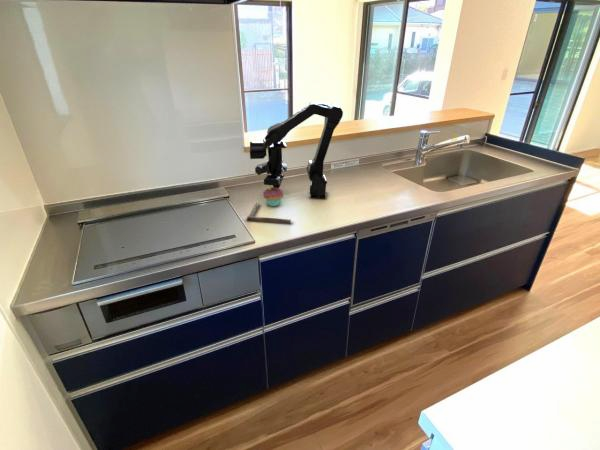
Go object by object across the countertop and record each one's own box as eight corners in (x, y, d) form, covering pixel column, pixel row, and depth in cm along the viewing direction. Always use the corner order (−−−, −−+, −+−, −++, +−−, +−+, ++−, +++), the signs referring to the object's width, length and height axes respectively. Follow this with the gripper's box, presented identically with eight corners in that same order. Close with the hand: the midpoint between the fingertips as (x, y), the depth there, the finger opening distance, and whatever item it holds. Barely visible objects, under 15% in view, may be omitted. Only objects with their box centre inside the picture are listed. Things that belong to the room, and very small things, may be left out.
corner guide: (295, 208, 142) (295, 205, 142) (290, 224, 131) (290, 220, 130) (255, 205, 144) (255, 202, 144) (247, 220, 133) (246, 217, 133)
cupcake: (268, 210, 141) (266, 182, 135) (260, 201, 148) (258, 175, 142) (287, 205, 145) (286, 179, 139) (278, 197, 151) (277, 172, 145)
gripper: (261, 150, 151) (263, 182, 159) (250, 164, 136) (252, 200, 143) (286, 151, 150) (287, 184, 158) (277, 166, 134) (279, 202, 142)
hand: (276, 192), depth 150 cm, fingers closed
